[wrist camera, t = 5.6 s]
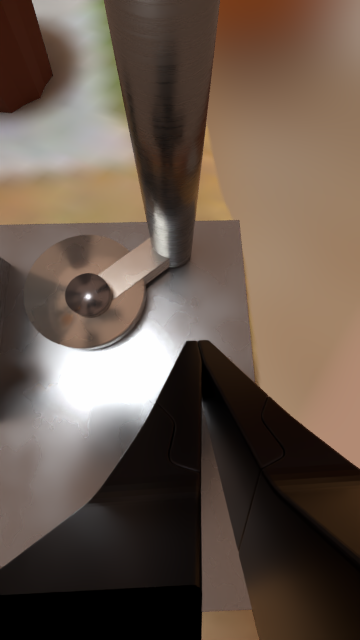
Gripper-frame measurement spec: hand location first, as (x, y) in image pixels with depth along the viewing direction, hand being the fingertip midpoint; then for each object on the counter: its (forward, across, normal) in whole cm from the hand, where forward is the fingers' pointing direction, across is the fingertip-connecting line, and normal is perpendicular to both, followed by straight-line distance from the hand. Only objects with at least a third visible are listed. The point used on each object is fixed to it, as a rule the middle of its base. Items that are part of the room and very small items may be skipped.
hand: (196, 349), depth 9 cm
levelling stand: (+4, +5, +6) cm, 9 cm away
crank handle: (+8, +4, 0) cm, 9 cm away
